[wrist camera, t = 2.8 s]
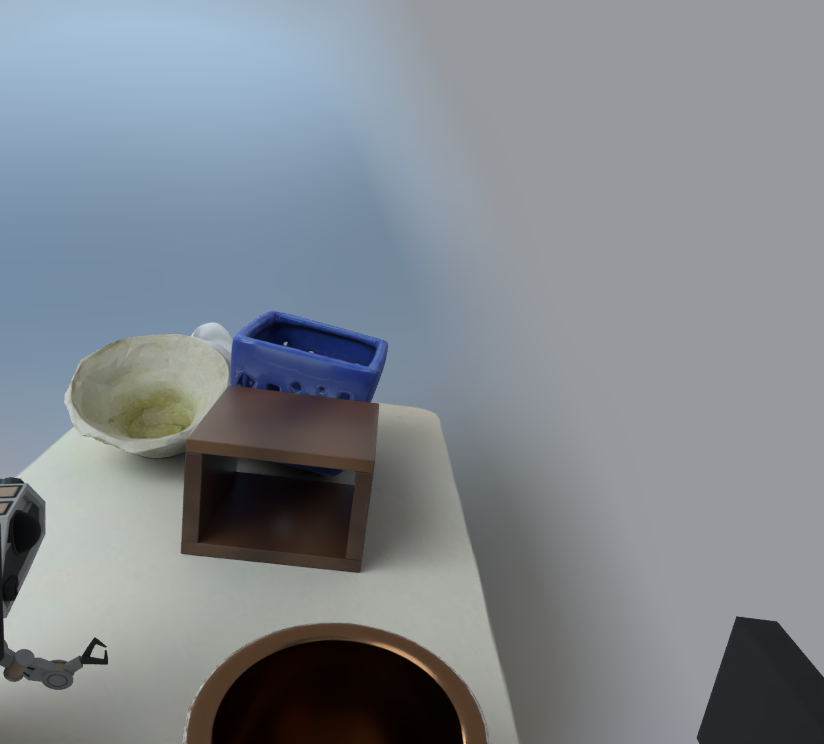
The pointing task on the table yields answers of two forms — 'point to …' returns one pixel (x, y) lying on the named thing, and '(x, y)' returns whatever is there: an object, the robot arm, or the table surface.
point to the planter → (334, 692)
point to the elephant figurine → (215, 337)
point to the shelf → (279, 479)
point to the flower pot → (307, 361)
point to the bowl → (146, 392)
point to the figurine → (19, 547)
